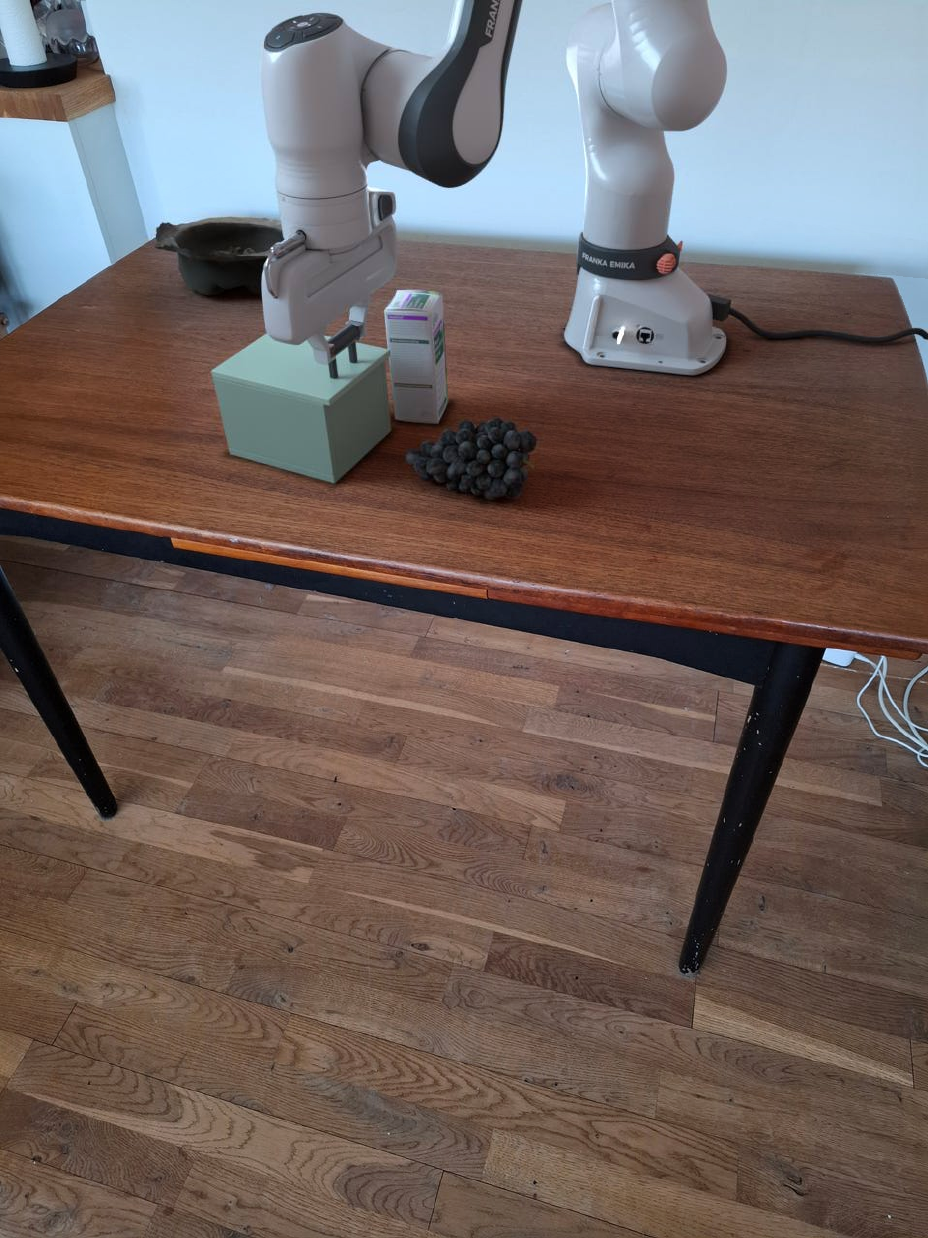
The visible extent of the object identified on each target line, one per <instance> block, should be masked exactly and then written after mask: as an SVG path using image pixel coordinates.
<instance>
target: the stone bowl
mask: <svg viewBox="0 0 928 1238" xmlns="http://www.w3.org/2000/svg"><path fill="white" fill-rule="evenodd" d="M155 239H156V242H157V243H155V245H153V248H154V249H158V250H165V251H168V252H172V253H177V261H178V262H177V263H178V264H177V265H178V270H179V273H180V276H181V278H182V280H183V282H184V284H185V285H186V287H187V288H189V290H190V291H191V292H193V293H194V294H202V295H205V296H211V295H217V294H220V293H223V292H225V291H226V290H231V289H234V288H236V287H240V286H244V287H245V288H246V289H247V290H248V291H249V292H251V293H253V294H254V295H255V294H256V295H262V273H263V269H264V263H265V262H266V260H267V258H268V256H269V254H270V248H271V247H272V246H273V245H275V244H276V243H279V242H282V241H284V240H285V239H284V237H283V232H282V226H281V220H277V219H271V218H266V217H241V216H239V217H237V216H221V217H220V216H219V217H206V218H202V219H200V220H197V221H191V222H187V223H185V224H183V225H177V224H173V223H171V222H170V221H169V222H168V221H167V222H163V221H162V222H161V223H160V224H159V225H158V226H157V227H155Z"/></svg>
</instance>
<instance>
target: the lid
mask: <svg viewBox="0 0 928 1238" xmlns="http://www.w3.org/2000/svg"><path fill="white" fill-rule="evenodd" d="M359 336H360V332H359V330H358V328H357V327H356V326H355V325H353V324H349V325H347V326H344V327H343V328H341V329H340V330H338V332H336V333H335V334H333V335H332V336H328V335H324V337H325V339H326V340H327V342H328V343H329V344H334V347H335V355H336V357H335V359H334V360H333V361H332V362H330V363H329V364H328V365H323V364H318V363H317V362H315V360H314V354H313V347H311V346H310V344H309V343H308V341H307V340H306V341H305V342H303V343H302V344H300V345H291V344H285V343H281V342H277V341H274V340H273V339H272V338H271V337H270V336H269V335H268V334H267V332H266V333H265V334H263V335H262V336H261V337H259V338H257V339H256V340H254V341H253V342H252V343H250V344H249V345H247V346H246V347H244V348H243V349H241V350H239V351H238V352H237V353H235V354H233V355H232V356H230V358H228V359H226V360H225V361H223V362H222V363H220V364H219V365H217V366H216V367H214V368H213V369H212V370H210V372H211V373H210V374H211V376H212V378H213V377H215V378H219V379H223V380H227V381H231V382H235V383H239V384H243V385H247V386H251V387H255V388H259V389H263V390H267V391H271V392H275V393H279V394H283V395H287V396H291V397H295V398H299V399H303V400H307V401H311V402H315V403H319V404H323V405H327V406H331V405H332V404H333V403H334V402H335V401H337V400H338V399H339V398H340V397H341V396H343V395H344V394H345V393H346V392H348V391H349V390H350V389H351V388H352V387H354V386H355V385H356V384H357V383H358V382H360V381H361V380H362V379H363V378H364V377H366V376H367V375H368V374H369V373H370V372H372V371H373V370H374V369H375V368H377V367H378V366H379V365H380V364H381V363H383V362H384V361H385V362H386V361H387V359H389V357H390V356H391V354H390V350H389V349H388V348H384V347H380V346H375V345H371V344H366V343H362V342H358V341H357V339H358V338H359Z"/></svg>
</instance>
